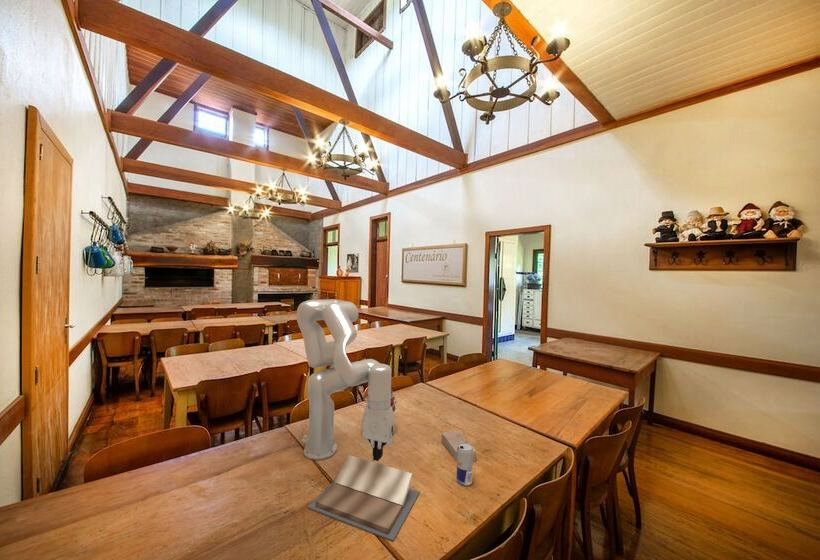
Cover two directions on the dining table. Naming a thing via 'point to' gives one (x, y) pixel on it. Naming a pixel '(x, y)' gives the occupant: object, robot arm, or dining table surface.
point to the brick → (455, 442)
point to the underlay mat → (391, 536)
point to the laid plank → (360, 507)
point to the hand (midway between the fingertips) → (377, 458)
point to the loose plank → (375, 479)
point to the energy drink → (464, 464)
